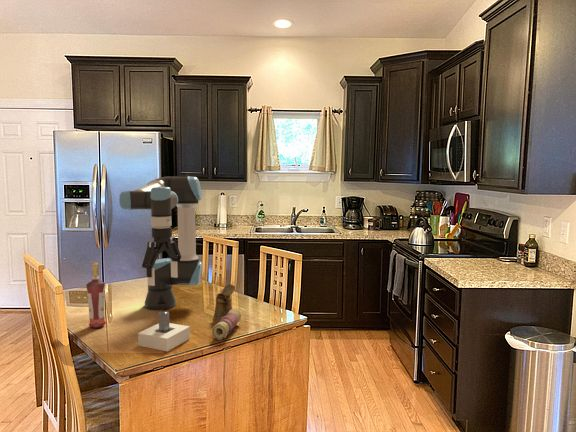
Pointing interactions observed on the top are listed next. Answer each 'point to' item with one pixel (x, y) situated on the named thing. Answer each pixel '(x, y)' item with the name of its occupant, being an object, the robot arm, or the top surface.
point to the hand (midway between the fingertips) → (163, 281)
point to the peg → (164, 322)
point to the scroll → (226, 324)
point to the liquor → (96, 299)
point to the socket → (164, 337)
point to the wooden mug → (223, 302)
